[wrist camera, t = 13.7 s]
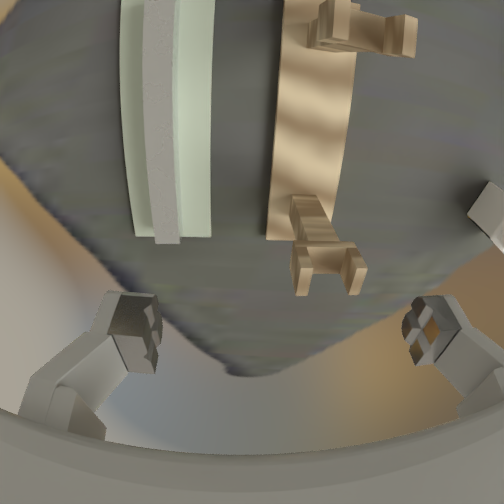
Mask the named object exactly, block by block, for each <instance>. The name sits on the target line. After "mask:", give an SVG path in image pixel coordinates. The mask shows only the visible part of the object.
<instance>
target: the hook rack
mask: <svg viewBox="0 0 504 504" xmlns="http://www.w3.org/2000/svg"><path fill="white" fill-rule="evenodd" d="M417 26H418V19H416V18H414V17H411V16H408V15H399V16H393V17H387V18H385V17H381V16H378V15H374V14H370V13H367V12H363V11H360V4H356V3H352V2H351V0H284V4H283V19H282V34H281V49H280V63H279V77H278V90H277V104H276V117H275V129H274V142H273V154H272V167H271V179H270V190H269V202H268V214H267V225H266V240H293V246H292V253H291V259H290V266H289V268H290V272H291V276H292V281H293V285H294V290H295V295H296V296H307V295H308V290H309V286H310V281H311V277H312V274H340V275H341V278H342V280H343V283H344V285H345V288H346V290H347V293H348V295H359V292H360V289H361V287H362V284H363V281H364V278H365V275H366V272H367V269H368V268H367V266H366V264H365V262H364V260H363V258H362V256H361V254H360V253H359V251H358V249H357V247H356V245H355V243H354V242H345V241H339V239H338V237H337V235H336V233H335V231H334V229H333V227H332V225H331V219H332V214H333V209H334V203H335V198H336V193H337V188H338V182H339V177H340V171H341V165H342V159H343V153H344V147H345V140H346V134H347V127H348V120H349V113H350V106H351V98H352V90H353V82H354V73H355V63H356V53H357V52H375V53H379V54H382V55H386V56H395V57H408V58H415V50H416V39H417Z"/></svg>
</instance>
